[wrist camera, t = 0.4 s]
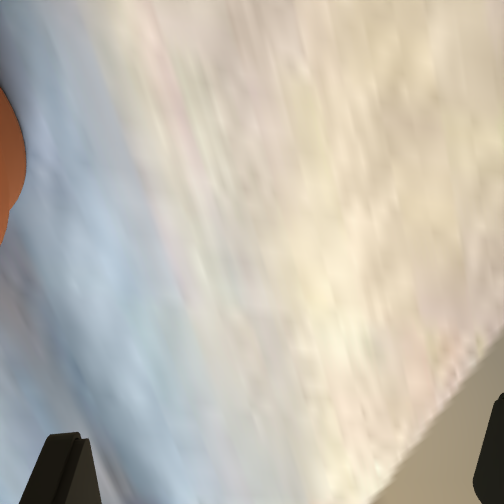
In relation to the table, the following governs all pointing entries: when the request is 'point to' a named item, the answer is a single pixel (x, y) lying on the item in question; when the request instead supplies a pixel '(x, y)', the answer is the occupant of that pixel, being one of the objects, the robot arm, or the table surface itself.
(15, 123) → the potted cactus
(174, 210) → the table surface
